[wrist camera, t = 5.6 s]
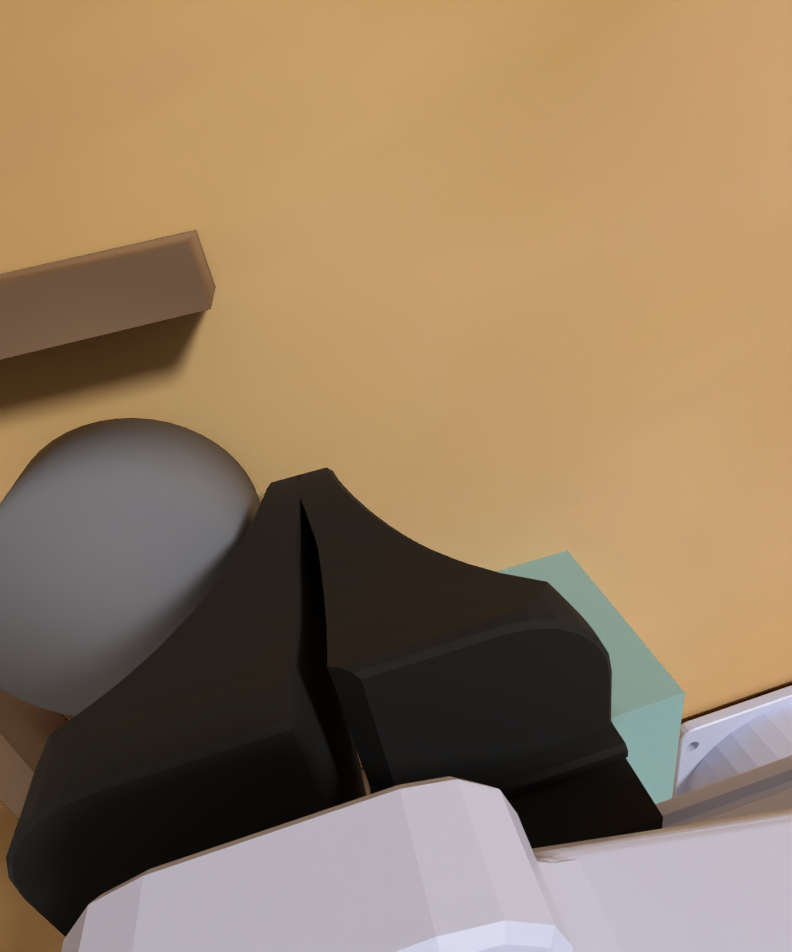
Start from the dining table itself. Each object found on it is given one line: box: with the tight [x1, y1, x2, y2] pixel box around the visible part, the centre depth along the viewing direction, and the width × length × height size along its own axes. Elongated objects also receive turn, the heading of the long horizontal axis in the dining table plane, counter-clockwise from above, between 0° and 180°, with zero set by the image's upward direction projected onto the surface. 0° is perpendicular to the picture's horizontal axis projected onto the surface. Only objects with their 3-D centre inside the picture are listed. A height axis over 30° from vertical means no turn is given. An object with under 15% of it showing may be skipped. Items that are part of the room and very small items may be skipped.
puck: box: [0, 418, 260, 716], centre depth 11 cm, size 5×5×3 cm
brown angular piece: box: [0, 230, 371, 820], centre depth 13 cm, size 17×8×2 cm, turn 11°
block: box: [498, 551, 685, 804], centre depth 15 cm, size 4×4×5 cm
